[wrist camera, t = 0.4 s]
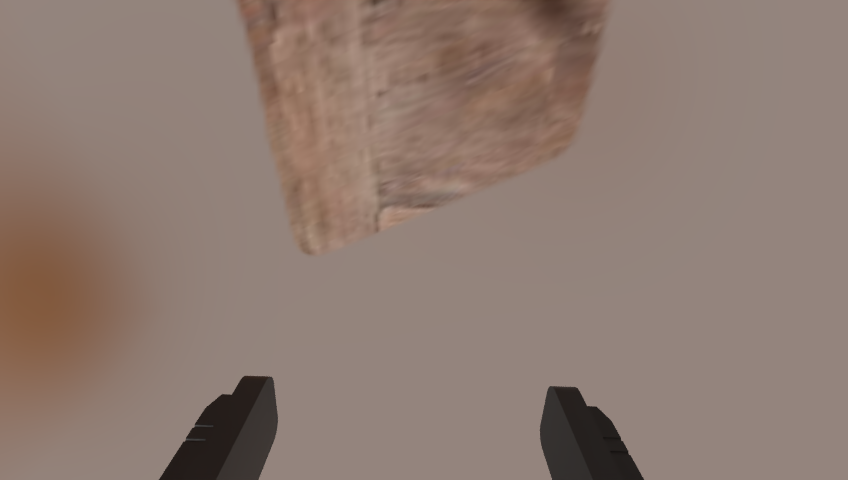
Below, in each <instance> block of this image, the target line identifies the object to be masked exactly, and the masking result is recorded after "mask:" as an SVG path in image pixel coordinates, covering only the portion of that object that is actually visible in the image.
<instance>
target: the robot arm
mask: <svg viewBox="0 0 848 480" xmlns="http://www.w3.org/2000/svg"><path fill="white" fill-rule="evenodd" d="M277 423H278V415H277V406H276V399H275V389H274V381H273V378H272V377H265V376H244V377H243V378H242V379H241V380H240V382H239V384H238V385H237V387H236V389H235V391H234V392H233V394H232V395H225V394H222V395H221V396H219V397H218V398H217V399H216V400H215V401H214V402H212V403H211V404H210V405H209V406H207V407H206V408H205V410H204V411H203V413H202V414H201V416H200V417H199V419H198V420H197V422H196V423H195V427H194V428H192V430H191V431H190V433H189V434H188V436H187V437H186V441H185V442H183V443H182V445H181V447H180V448H179V450H178V451H177V453H176V454H175V456H174V457H173V459H172V460H171V462H170V464H169V465H168V467H167V468H166V470H165V471H164V473H163V475H162V476H161V477H160V479H159V480H258V479H259V476H260V474H261V472H262V469H263V466H264V464H265V461H266V459H267V457H268V454H269V452H270V449H271V447H272V444H273V442H274V439H275V435H276V431H277ZM540 439H541V445H542V449H543V452H544V456H545V459H546V461H547V465H548V468H549V471H550V474H551V477H552V480H644V479H643V477H642V476H641V474H640V472H639V470H638V468H637V466H636V464H635V463H634V461H633V459H632V457H631V456H630V455H629V454H628V450H627V448H626V446H625V445H624V443H623V441H621V437H620V436H619V434H618V432H617V430H616V428H615V426H614V425H613V423H612V421H611V420H610V419H609V418H608V417H606V415H605V414H604V413H603V412H602V411H600V410H599V409H598V408H597V407H592V406H591V407H590V406H587V405H586V403H585V401H584V399H583V397H582V395H581V393H580V391H579V390H578V388H576V387H557V386H550V387H549V388H548V391H547V396H546V400H545V405H544V410H543V415H542V420H541V425H540Z"/></svg>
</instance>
